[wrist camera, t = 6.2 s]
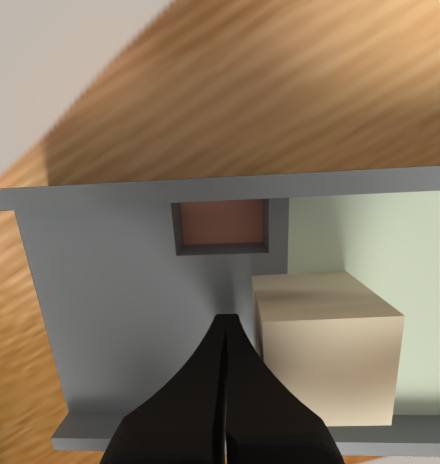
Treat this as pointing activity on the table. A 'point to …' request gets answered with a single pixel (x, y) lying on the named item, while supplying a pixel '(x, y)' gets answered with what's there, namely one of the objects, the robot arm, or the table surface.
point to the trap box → (225, 281)
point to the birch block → (330, 344)
